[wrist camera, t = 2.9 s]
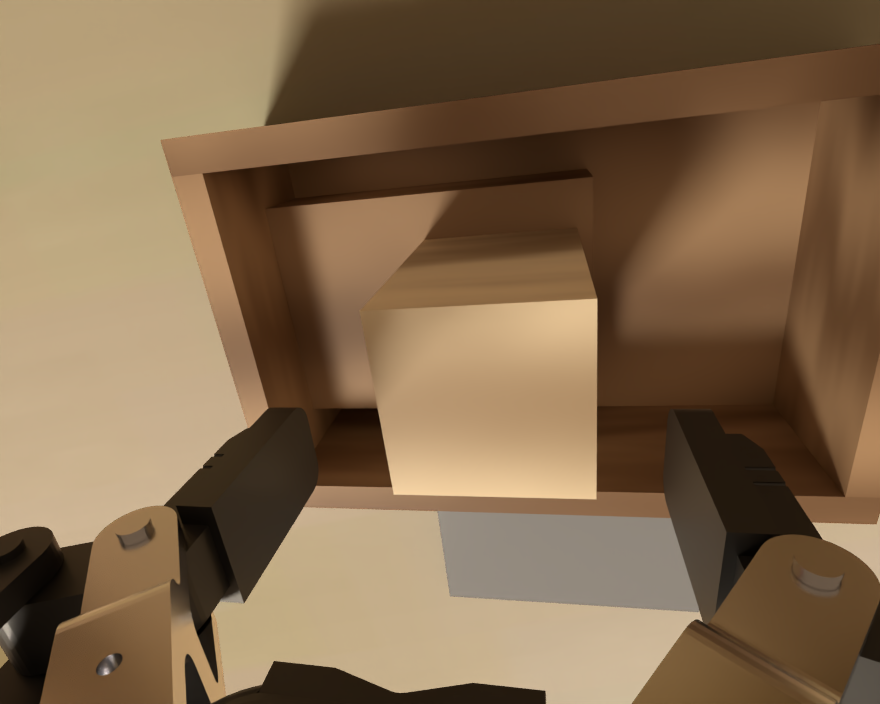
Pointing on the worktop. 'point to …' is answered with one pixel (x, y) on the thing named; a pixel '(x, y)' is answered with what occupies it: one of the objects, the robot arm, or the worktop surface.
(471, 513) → the plate
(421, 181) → the walnut crate
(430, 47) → the worktop surface
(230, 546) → the robot arm
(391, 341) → the maple block
